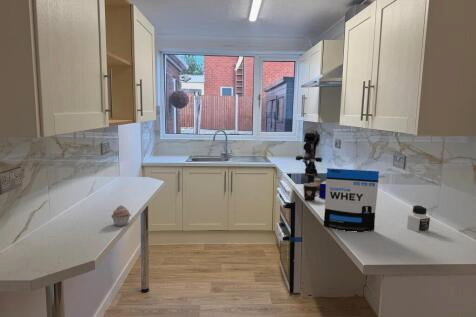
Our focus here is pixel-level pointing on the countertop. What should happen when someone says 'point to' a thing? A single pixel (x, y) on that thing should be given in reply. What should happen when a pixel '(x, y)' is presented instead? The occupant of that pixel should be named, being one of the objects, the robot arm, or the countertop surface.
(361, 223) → the protein powder
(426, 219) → the medicine bottle
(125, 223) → the cupcake
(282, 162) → the countertop surface
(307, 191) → the coffee mug
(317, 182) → the maple block
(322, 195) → the puzzle cube
